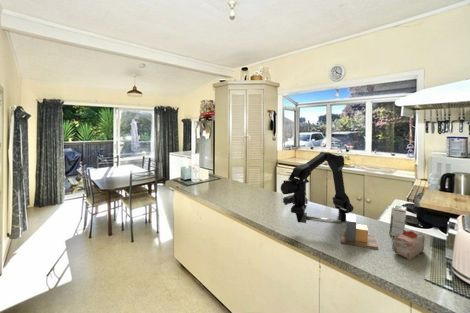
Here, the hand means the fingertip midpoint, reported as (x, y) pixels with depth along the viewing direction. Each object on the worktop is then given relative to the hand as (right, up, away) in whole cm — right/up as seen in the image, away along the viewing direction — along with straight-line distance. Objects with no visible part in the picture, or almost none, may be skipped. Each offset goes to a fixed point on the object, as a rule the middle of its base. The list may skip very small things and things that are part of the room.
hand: (299, 220), depth 125 cm
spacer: (+27, -6, -10) cm, 29 cm away
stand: (+25, -7, -10) cm, 28 cm away
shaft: (+9, 0, -4) cm, 10 cm away
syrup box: (+48, -6, -5) cm, 48 cm away
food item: (+41, -9, -21) cm, 47 cm away
